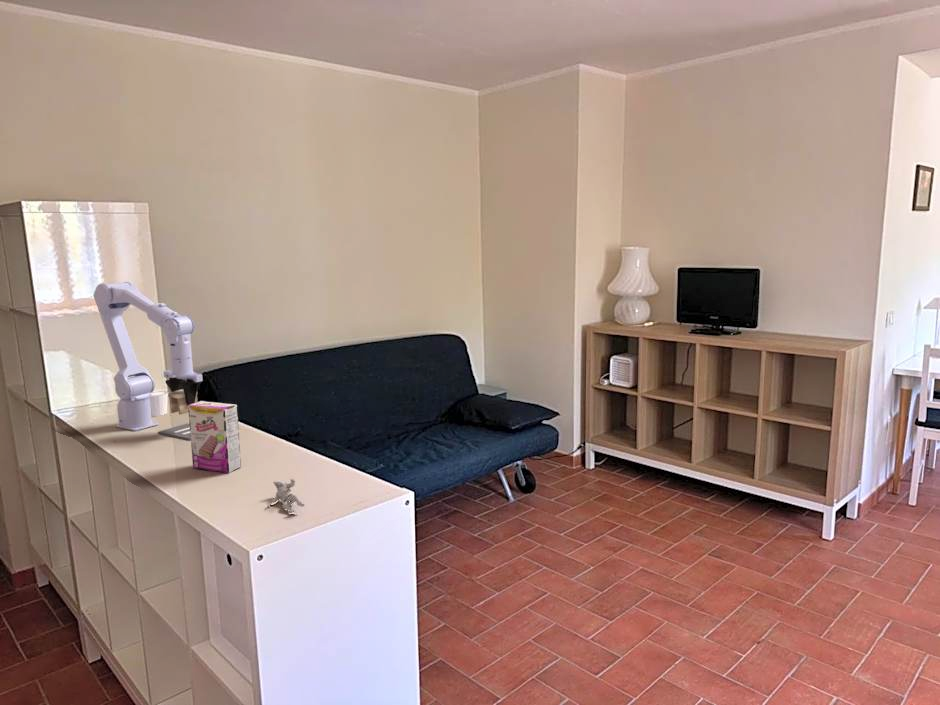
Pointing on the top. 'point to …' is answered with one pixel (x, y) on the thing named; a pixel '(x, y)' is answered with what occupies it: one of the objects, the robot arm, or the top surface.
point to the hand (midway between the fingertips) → (185, 403)
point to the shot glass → (158, 403)
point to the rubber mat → (178, 432)
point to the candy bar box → (214, 436)
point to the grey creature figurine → (286, 495)
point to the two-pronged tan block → (179, 402)
